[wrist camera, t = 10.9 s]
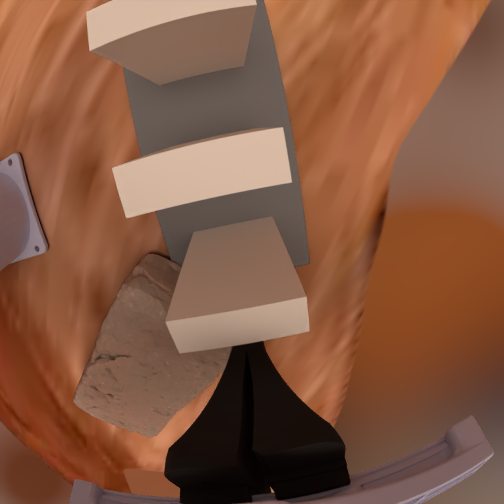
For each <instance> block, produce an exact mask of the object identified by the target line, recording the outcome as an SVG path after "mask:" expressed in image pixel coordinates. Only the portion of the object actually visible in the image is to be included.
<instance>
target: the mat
mask: <svg viewBox="0 0 504 504" xmlns="http://www.w3.org/2000/svg"><path fill="white" fill-rule="evenodd" d="M256 3H257V6H256V11H255V15H254V20H253V25H252V29H251V34H250V39H249V44H248V49H247V54H246V59H245V64H244V66H242V67H236V68H230V69H225V70H220V71H215V72H210V73H205V74H201V75H197V76H193V77H189V78H185V79H181V80H177V81H173V82H170V83H166V84H163V85H160V86H159V85H157V84H156V83H154V82H152V81H150V80H148V79H146V78H144V77H142V76H140V75H139V74H137V73H135V72H133V71H131V70H129V69H127V68H125V67H123V69H124V75H125V81H126V86H127V92H128V97H129V102H130V107H131V112H132V117H133V122H134V127H135V131H136V136H137V140H138V144H139V149H140V153H141V157H143V156H145V155H148V154H151V153H154V152H157V151H160V150H163V149H166V148H169V147H172V146H176V145H180V144H184V143H188V142H192V141H196V140H200V139H205V138H209V137H213V136H218V135H223V134H228V133H233V132H238V131H243V130H248V129H254V128H271V127H283V130H284V136H285V142H286V148H287V154H288V160H289V166H290V172H291V179H292V182H291V183H285V184H280V185H274V186H269V187H263V188H258V189H253V190H247V191H242V192H237V193H232V194H227V195H223V196H218V197H213V198H209V199H204V200H199V201H195V202H191V203H186V204H182V205H178V206H173V207H169V208H165V209H161V210H157V211H156V213H157V216H158V220H159V223H160V227H161V230H162V233H163V236H164V240H165V243H166V246H167V249H168V252H169V255H170V258H171V261H172V262H174V263H176V264H177V265H179V266H180V267H181V268H182V265H183V262H184V259H185V256H186V253H187V250H188V247H189V244H190V241H191V238H192V235H193V233H194V232H196V231H201V230H206V229H211V228H216V227H220V226H225V225H230V224H235V223H240V222H245V221H250V220H256V219H261V218H266V217H271V216H272V217H273V219H274V221H275V223H276V226H277V228H278V230H279V233H280V235H281V237H282V240H283V242H284V244H285V247H286V249H287V251H288V254H289V256H290V258H291V261H292V263H293V265H294V267H296V266H301V265H306V264H310V261H309V252H308V243H307V234H306V225H305V217H304V210H303V202H302V195H301V187H300V180H299V173H298V167H297V160H296V154H295V148H294V142H293V136H292V130H291V124H290V118H289V113H288V107H287V102H286V97H285V92H284V87H283V82H282V77H281V72H280V67H279V62H278V58H277V53H276V49H275V44H274V40H273V36H272V31H271V27H270V23H269V19H268V15H267V11H266V7H265V3H264V0H256Z"/></svg>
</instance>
